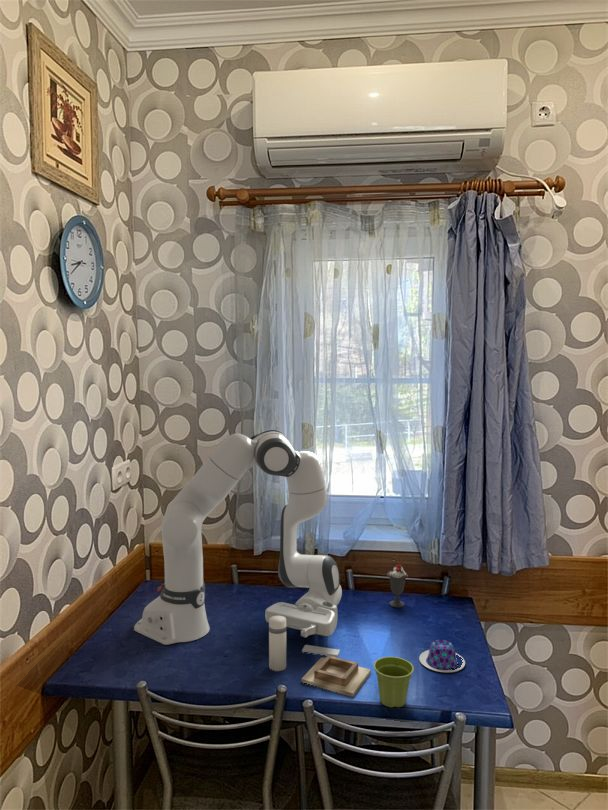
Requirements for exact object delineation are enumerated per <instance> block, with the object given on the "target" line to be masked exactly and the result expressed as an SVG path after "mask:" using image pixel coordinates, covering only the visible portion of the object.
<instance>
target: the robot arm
mask: <svg viewBox="0 0 608 810" xmlns="http://www.w3.org/2000/svg"><path fill="white" fill-rule="evenodd" d="M319 459H320V458H319V457H318V456H317V454H315V453H314V452H312V451H308V450H301V451H297V450H295V449H294V447H293V446H292V442H291V441H290V439H289V438H288V437H287V436H286V435H285V434H284V433H282V432H281V431H279V430H275V429H269V430H264V431H263V432H260V433H257V434H255V435H252V436H251V437H249V436H247V435H245V434H242V433H239V432H237V433H236V432H235V433H232V434H231V435H229V436H228V437H227V438H225V439H224V441H222V442H220V444H219V445H218V446H217V447H216V448H215V449H214V450H213V452H212V453H211V454H210V455H209V457H208V458H207V459H206V461H205V462H203V464H202V465H201V467H200V468H199V469H198V470H197V472H196V473H195V474H194V475H193V476H192V477H191V479H190V480H189V481H188V482H187V483H186V484H185V486H183V488H182V489H180V491H179V492H178V493H177V494H176V496H175V497H174V498H173V499H172V500H171V502H169V503H168V505H167V507H166V510H165V513H164V515H163V518H162V521H161V525H160V529H161V542H162V543H161V544H162V550H163V551H162V553H163V560H164V561H163V562H164V566H163V567H164V583H163V584H161V585H160V586H159V587H157V592H160V591H161V592H160V595H159V596H157V597H156V598H155V599H153V600H152V601H151V602H150V603H148V604H147V605H146V606H145V607H144V609H143V611H142V617H141V618H140V619H139V620H138V621H137V622H136V623H135V625H134V627H133V631H135V632H137V633H139V634H141V635H143V636H144V637H147V638H149V639H151V640H154V641H156V642H158V643H160V644H162V645H164V646H165V645H166V646H167V645H171V644H176V643H187V642H188V643H189V642H192V641H195V640H199V639H201V638H202V637H204V636H206V635H207V634H208V633H209V632H210V623H209V622H208V621H209V620H208V618H207V617H208V616H207V612H206V606H205V601H206V584H205V581H204V556H203V555H204V554H203V540H202V539H203V537H202V536H203V534H202V530H203V529H202V526H203V523H204V521H205V519H206V518H207V517H208V516H209V515H210V514H211V513H212V512H213V510H214V509H215V508H216V507H217V506H218V505H220V504H221V503H222V502H223V501H225V499H226V498H227V496H228V495H229V494H230V492H231V491H232V490H233V489H234V488H235V486H236V485H237V484H238V483H239V482H240V480H241V479H242V477H243V476H244V475H245V473H246V472H247V471H248V470H250V469H251V468H253V467H255V466H258V467H259V468H260V469H261V471H262V472H264V473H265V474H267V475H269V476H276V477H284V478H286V483H287V490H288V500H287V504H285V505H284V506H283V507H282V510H281V514H280V530H279V535H280V536H279V537H280V539H279V540H280V541H279V560H278V561H279V562H278V566H277V568H278V569H277V574H278V578H279V580H280V581H281V583H282V584H283V585H284V587H286V588H307V589H308V588H309V589H308V591H307V592H306V593H305V594H304V595H302V596H301V597H300V598H299V599H297V601H295V603H294V604H292V603H287V602H283V601H281V602H276V603H274V604H272V605H270V606H269V607H266V609H265V615H264V617H265V621H266V622H267V623H269V618H270V617H272V616H283V617H285V618H286V628H290V629H295V630H299V631H300V637H303V638H307V637H309V636H311V635H318V636H322V637H327V636H328V637H329V636H331V635H333V633H334V632H335V630H336V628H337V625H338V605H339V603H340V601H341V599H342V595H343V590H342V586H341V572H340V567H339V566H338V564H337V562H336V560H335V559H334V558H333V557H331V556H330V555H325V554H324V555H321V554H301V553H299V552H298V550H297V548H298V547H297V546H298V545H297V544H298V543H297V542H298V541H297V539H298V538H297V535H298V526H299V524H302V523H304V522H306V521H309V520H311V519H313V518H315V517H317V516H318V515H319V514H321V513H322V512H323V510H324V508H325V507H326V505H327V501H328V496H327V488H326V481H325V476H324V472H323V468H322V465H321V463H320V460H319Z"/></svg>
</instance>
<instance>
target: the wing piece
mask: <svg viewBox="0 0 608 810" xmlns="http://www.w3.org/2000/svg"><path fill="white" fill-rule="evenodd" d="M301 652H302V653H304V652H308V653H307V654H310V653H314V654H313V655H317V654H320V655H319V656H323V655H325V657H327V656H328V655H329V656H333V657H338V658H339V656H340V654H341V649H338V648H337V649H336V648H330V647H323V646H317V645H309V644H305V645H304V646H303V648H302V650H301ZM339 653H340V654H339ZM338 655H339V656H338Z"/></svg>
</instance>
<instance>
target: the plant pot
mask: <svg viewBox="0 0 608 810" xmlns="http://www.w3.org/2000/svg"><path fill="white" fill-rule="evenodd" d="M373 669H374V671H375V675H376V677H377V679H376V680H377V684H378V685H377V687H378V693H379V694H378V695H379V701H380V703H381V704H382V705H384V706H386V707H387V708H388V707H389V708H394V707H396V708H401V707H403V706H405V704H406V702H407V695H408V690H409V684H410V680H411V677H412V674H413V673H414V671H415V667H414V665H413V664H412V662H410V661H408V660H407V659H404V658H402V657H398V656H383V657H379V658H378V659H376V660H375V661H374V662H373Z"/></svg>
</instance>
